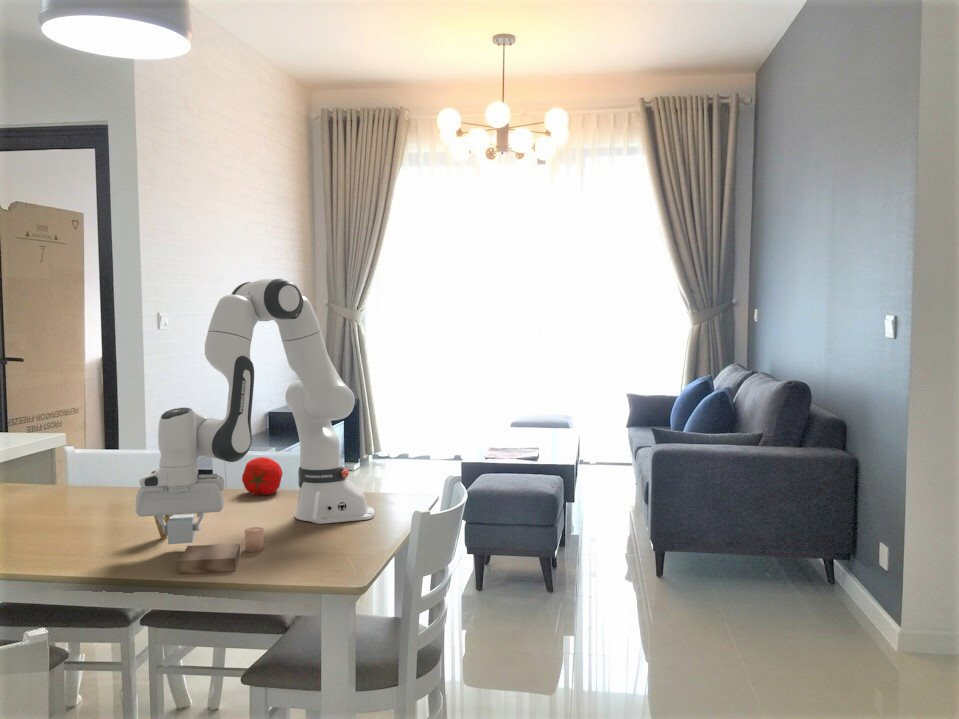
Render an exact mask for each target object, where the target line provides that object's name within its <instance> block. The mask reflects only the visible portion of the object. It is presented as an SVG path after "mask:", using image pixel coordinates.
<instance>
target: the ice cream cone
mask: <svg viewBox="0 0 959 719" xmlns="http://www.w3.org/2000/svg"><path fill="white" fill-rule="evenodd" d="M171 516H174V515H165V517H164V521H165V523H166V524H167V521H168V520H169V518H170V517H171ZM153 518H154V521H155V524H156V527H157V530H158V534H159V536H160V539H162V540H165V539H168V533H163V526H161V524H160V523H159V521H158V520H157V516H153Z"/></svg>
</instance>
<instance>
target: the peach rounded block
mask: <svg viewBox="0 0 959 719" xmlns="http://www.w3.org/2000/svg"><path fill="white" fill-rule="evenodd" d="M264 550H265V528H264V527H259V526H256V527H255V526H253V527H247V528H245V529H244V552H247V553H260V552H262V551H264Z"/></svg>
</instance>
